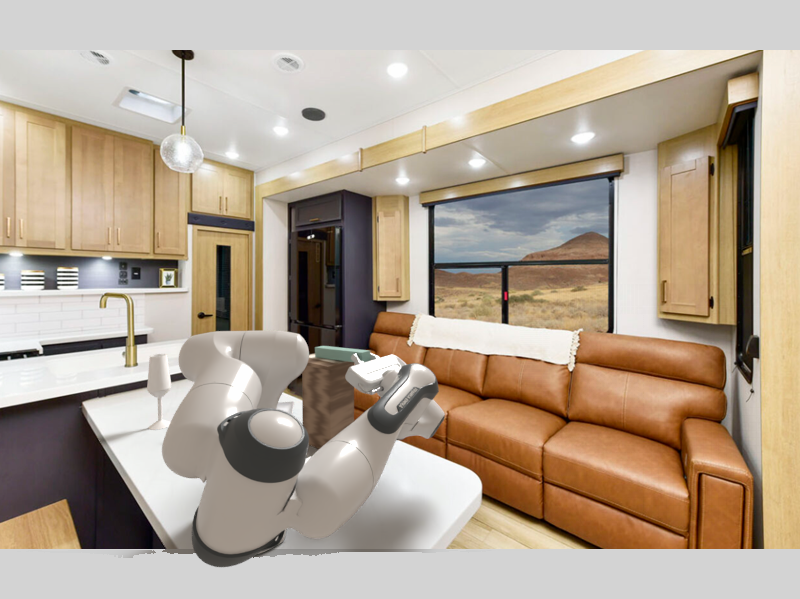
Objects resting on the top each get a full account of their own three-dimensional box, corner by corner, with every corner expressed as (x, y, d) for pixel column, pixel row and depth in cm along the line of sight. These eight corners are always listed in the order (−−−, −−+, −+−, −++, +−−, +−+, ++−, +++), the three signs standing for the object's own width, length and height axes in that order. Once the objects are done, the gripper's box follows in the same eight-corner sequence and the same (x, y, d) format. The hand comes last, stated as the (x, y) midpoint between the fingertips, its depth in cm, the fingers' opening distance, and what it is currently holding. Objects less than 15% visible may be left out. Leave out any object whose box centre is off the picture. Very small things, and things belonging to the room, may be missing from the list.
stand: (360, 439, 109) (361, 356, 108) (327, 457, 98) (327, 366, 96) (326, 427, 118) (326, 350, 116) (293, 443, 106) (292, 358, 105)
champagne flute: (151, 422, 119) (149, 353, 118) (174, 420, 122) (172, 352, 120) (145, 431, 113) (143, 358, 112) (169, 428, 116) (167, 356, 114)
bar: (370, 361, 99) (370, 350, 99) (362, 363, 96) (362, 352, 96) (323, 355, 110) (323, 345, 110) (315, 357, 107) (314, 347, 107)
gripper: (363, 405, 85) (328, 370, 92) (408, 385, 102) (376, 356, 108) (373, 386, 83) (337, 351, 89) (417, 368, 100) (384, 340, 106)
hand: (359, 354), depth 99 cm, fingers closed on bar, 3 cm apart
